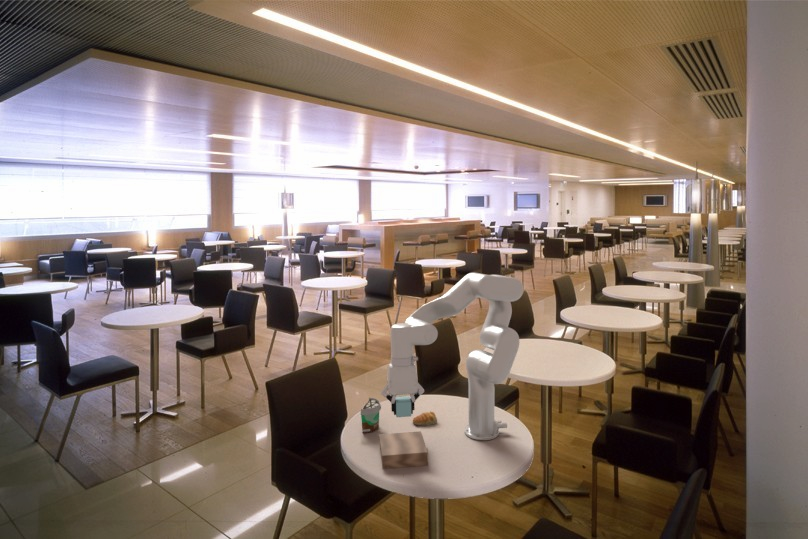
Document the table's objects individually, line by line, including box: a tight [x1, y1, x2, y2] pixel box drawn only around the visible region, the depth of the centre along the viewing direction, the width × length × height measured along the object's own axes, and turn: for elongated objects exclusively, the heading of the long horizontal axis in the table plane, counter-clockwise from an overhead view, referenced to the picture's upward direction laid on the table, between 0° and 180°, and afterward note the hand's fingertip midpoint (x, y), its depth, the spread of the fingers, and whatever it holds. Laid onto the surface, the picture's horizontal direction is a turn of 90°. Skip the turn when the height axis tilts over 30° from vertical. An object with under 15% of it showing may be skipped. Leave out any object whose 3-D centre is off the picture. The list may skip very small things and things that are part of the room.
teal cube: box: [395, 395, 412, 418], centre depth 161 cm, size 5×5×5 cm
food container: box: [360, 397, 382, 434], centre depth 184 cm, size 12×6×10 cm, turn 168°
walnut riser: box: [378, 430, 429, 470], centre depth 164 cm, size 15×15×4 cm
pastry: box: [412, 411, 438, 426], centre depth 189 cm, size 9×7×4 cm
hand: (403, 412), depth 162 cm, fingers closed on teal cube, 4 cm apart
